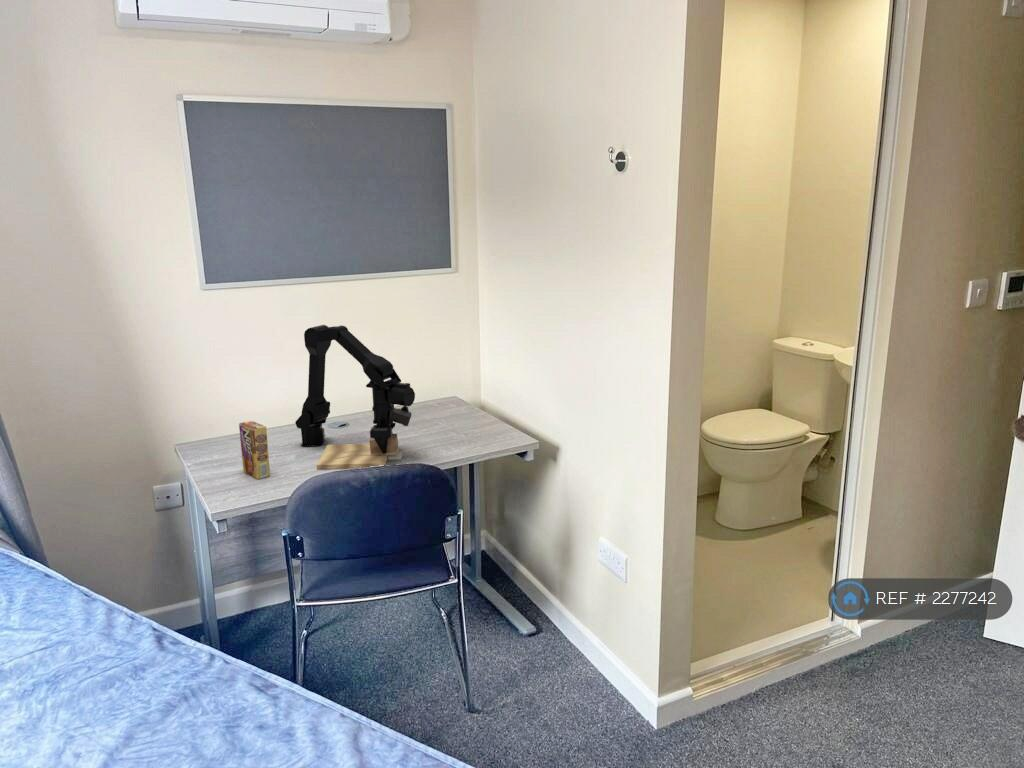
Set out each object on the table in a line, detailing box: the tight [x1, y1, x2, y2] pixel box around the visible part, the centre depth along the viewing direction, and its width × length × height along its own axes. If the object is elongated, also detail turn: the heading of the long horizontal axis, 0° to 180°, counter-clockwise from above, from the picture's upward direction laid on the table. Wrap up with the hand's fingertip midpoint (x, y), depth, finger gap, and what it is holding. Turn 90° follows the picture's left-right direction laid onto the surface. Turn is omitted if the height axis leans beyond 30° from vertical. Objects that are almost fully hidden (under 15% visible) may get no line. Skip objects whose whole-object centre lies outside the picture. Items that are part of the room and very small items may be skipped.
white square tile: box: [387, 452, 403, 461], centre depth 233 cm, size 4×4×1 cm
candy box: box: [238, 420, 271, 480], centre depth 218 cm, size 9×4×15 cm, turn 47°
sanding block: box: [368, 433, 400, 456], centre depth 231 cm, size 8×5×5 cm, turn 93°
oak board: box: [316, 443, 388, 471], centre depth 232 cm, size 20×18×2 cm
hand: (385, 450), depth 232 cm, fingers closed on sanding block, 5 cm apart
